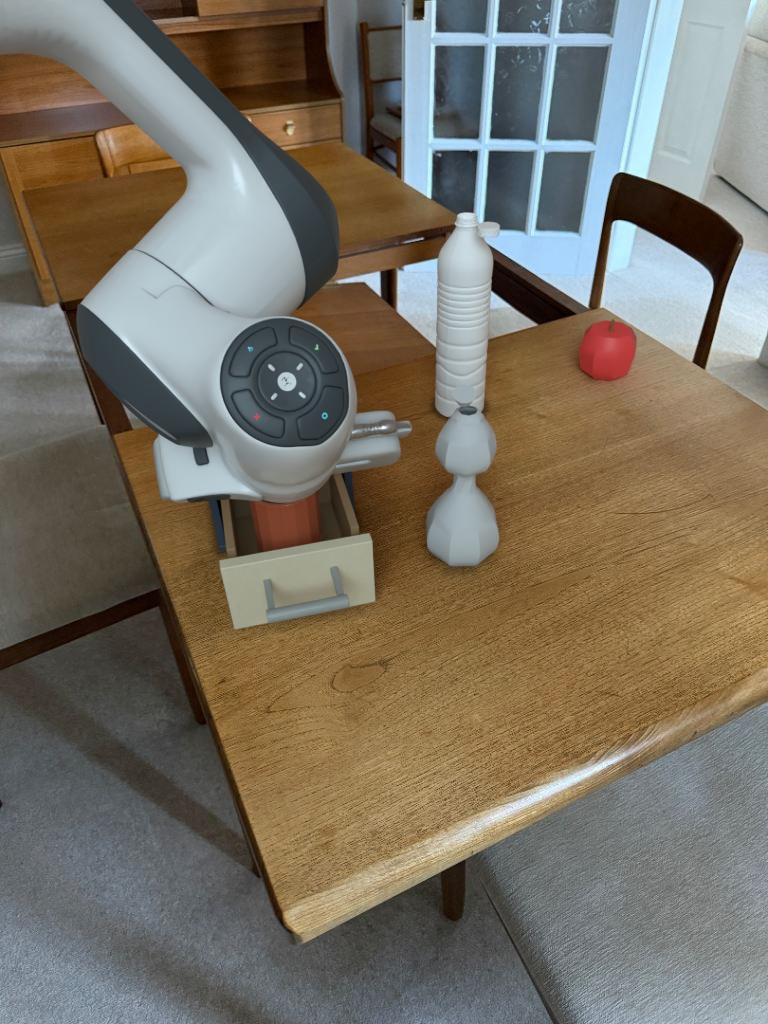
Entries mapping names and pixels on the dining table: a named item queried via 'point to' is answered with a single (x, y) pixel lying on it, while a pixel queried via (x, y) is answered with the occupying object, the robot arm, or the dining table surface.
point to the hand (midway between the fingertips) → (279, 471)
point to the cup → (287, 523)
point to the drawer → (297, 565)
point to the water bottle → (463, 311)
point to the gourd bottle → (464, 488)
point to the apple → (607, 350)
